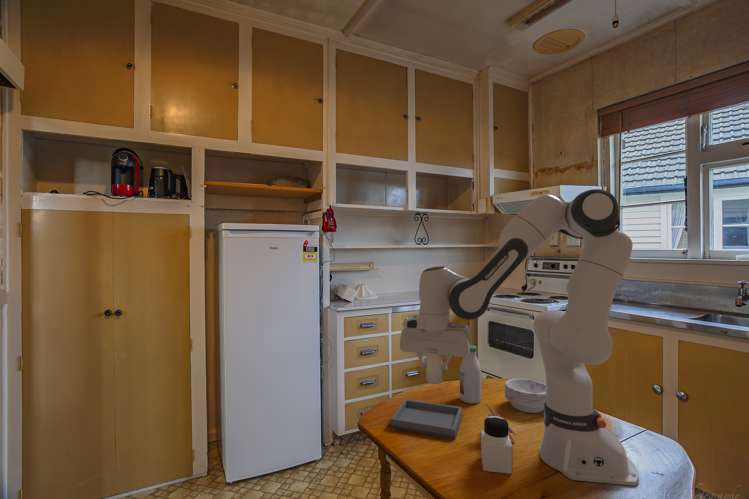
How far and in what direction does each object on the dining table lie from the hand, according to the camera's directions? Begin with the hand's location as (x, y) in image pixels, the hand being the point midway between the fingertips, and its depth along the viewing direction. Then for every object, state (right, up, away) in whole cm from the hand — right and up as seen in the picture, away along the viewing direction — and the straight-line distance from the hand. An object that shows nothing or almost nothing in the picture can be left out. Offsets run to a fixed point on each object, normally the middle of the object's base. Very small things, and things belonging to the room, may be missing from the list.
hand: (434, 368), depth 110 cm
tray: (0, -21, +12) cm, 24 cm away
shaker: (0, -4, 0) cm, 4 cm away
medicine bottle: (+14, -22, -12) cm, 29 cm away
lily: (+19, -22, +1) cm, 29 cm away
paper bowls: (+36, -21, +22) cm, 48 cm away
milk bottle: (+18, -21, +29) cm, 40 cm away
